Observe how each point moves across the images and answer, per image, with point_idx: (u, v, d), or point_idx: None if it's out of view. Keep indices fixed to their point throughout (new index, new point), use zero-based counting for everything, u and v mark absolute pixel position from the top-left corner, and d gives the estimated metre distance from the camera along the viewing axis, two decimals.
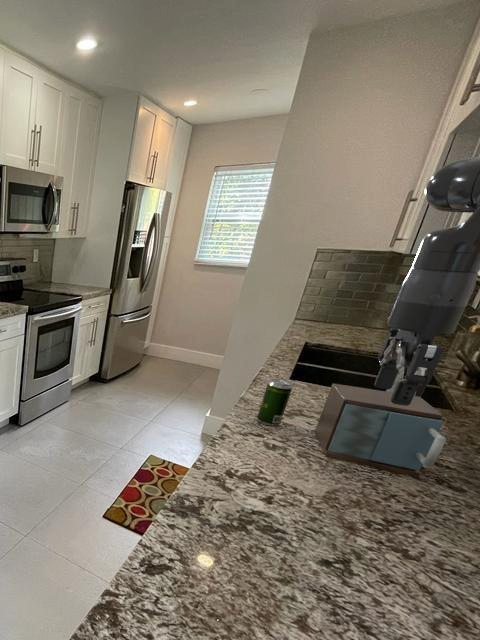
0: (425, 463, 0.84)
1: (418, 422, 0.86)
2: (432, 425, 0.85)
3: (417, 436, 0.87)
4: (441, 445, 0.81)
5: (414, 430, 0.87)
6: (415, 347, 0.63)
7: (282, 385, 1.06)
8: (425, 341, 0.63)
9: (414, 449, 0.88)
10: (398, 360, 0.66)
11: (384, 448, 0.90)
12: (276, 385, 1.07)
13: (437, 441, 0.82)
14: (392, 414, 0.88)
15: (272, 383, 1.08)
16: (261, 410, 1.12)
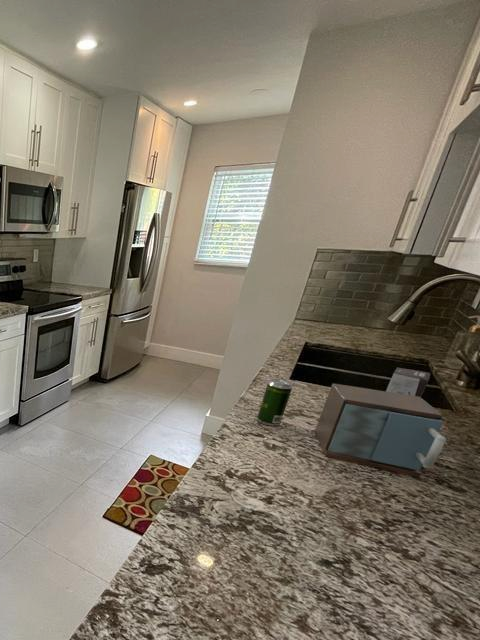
0: (425, 463, 0.84)
1: (418, 422, 0.86)
2: (432, 425, 0.85)
3: (417, 436, 0.87)
4: (441, 445, 0.81)
5: (414, 430, 0.87)
6: None
7: (282, 385, 1.06)
8: None
9: (414, 449, 0.88)
10: None
11: (384, 448, 0.90)
12: (276, 385, 1.07)
13: (437, 441, 0.82)
14: (392, 414, 0.88)
15: (272, 383, 1.08)
16: (261, 410, 1.12)
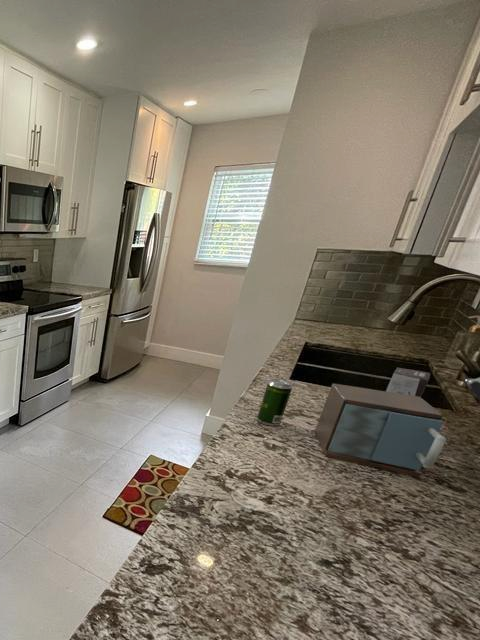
0: (425, 463, 0.84)
1: (418, 422, 0.86)
2: (432, 425, 0.85)
3: (417, 436, 0.87)
4: (441, 445, 0.81)
5: (414, 430, 0.87)
6: None
7: (282, 385, 1.06)
8: None
9: (414, 449, 0.88)
10: None
11: (384, 448, 0.90)
12: (276, 385, 1.07)
13: (437, 441, 0.82)
14: (392, 414, 0.88)
15: (272, 383, 1.08)
16: (261, 410, 1.12)
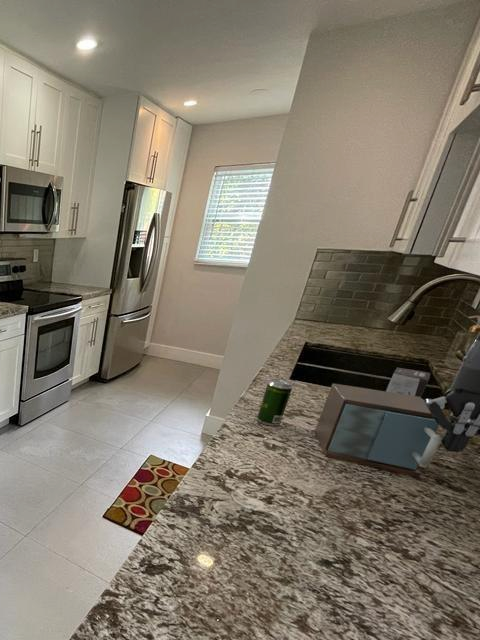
0: (421, 462, 0.84)
1: (414, 422, 0.86)
2: (428, 424, 0.85)
3: (413, 435, 0.87)
4: (437, 444, 0.82)
5: (410, 429, 0.87)
6: (443, 395, 0.80)
7: (282, 385, 1.06)
8: (447, 395, 0.79)
9: (410, 448, 0.88)
10: None
11: (381, 447, 0.90)
12: (276, 385, 1.07)
13: (433, 440, 0.82)
14: (388, 413, 0.88)
15: (272, 383, 1.08)
16: (261, 410, 1.12)
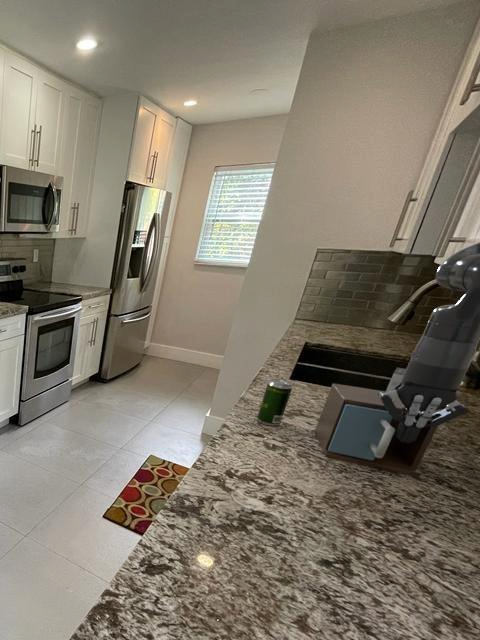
0: (376, 453, 0.87)
1: (371, 414, 0.90)
2: (384, 417, 0.89)
3: (370, 427, 0.90)
4: (390, 435, 0.85)
5: (367, 421, 0.90)
6: (395, 388, 0.83)
7: (282, 385, 1.06)
8: (398, 388, 0.82)
9: (368, 440, 0.91)
10: None
11: (341, 439, 0.94)
12: (276, 385, 1.07)
13: (387, 432, 0.85)
14: (347, 406, 0.91)
15: (272, 383, 1.08)
16: (261, 410, 1.12)
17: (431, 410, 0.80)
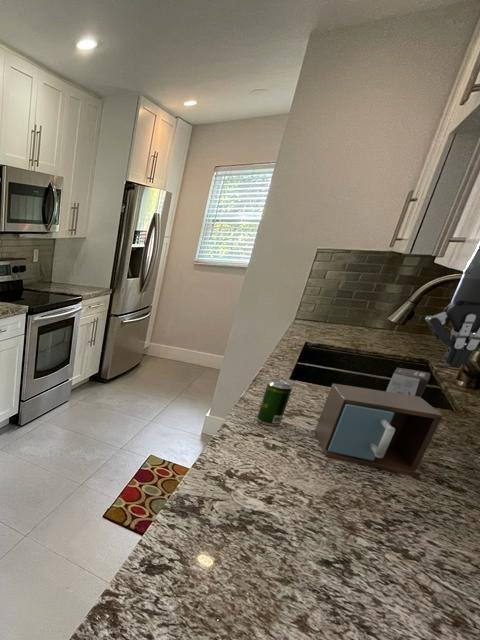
0: (376, 453, 0.87)
1: (371, 414, 0.90)
2: (384, 417, 0.89)
3: (370, 427, 0.90)
4: (390, 435, 0.85)
5: (368, 422, 0.90)
6: (444, 311, 0.80)
7: (282, 385, 1.06)
8: None
9: (368, 440, 0.91)
10: None
11: (341, 439, 0.94)
12: (276, 385, 1.07)
13: (387, 432, 0.85)
14: (347, 406, 0.91)
15: (272, 383, 1.08)
16: (261, 410, 1.12)
17: None
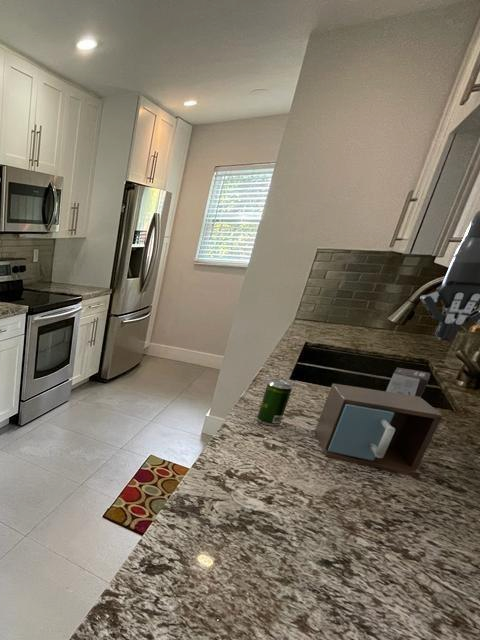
0: (376, 453, 0.87)
1: (371, 414, 0.90)
2: (384, 417, 0.89)
3: (370, 427, 0.90)
4: (390, 435, 0.85)
5: (368, 422, 0.90)
6: (436, 290, 0.92)
7: (282, 385, 1.06)
8: (439, 289, 0.91)
9: (368, 440, 0.91)
10: None
11: (341, 439, 0.94)
12: (276, 385, 1.07)
13: (387, 432, 0.85)
14: (347, 406, 0.91)
15: (272, 383, 1.08)
16: (261, 410, 1.12)
17: (470, 306, 0.88)
